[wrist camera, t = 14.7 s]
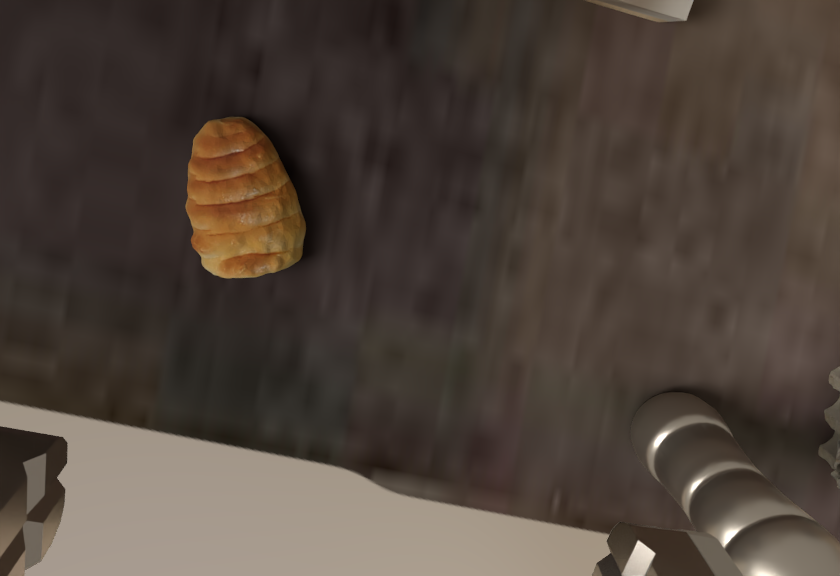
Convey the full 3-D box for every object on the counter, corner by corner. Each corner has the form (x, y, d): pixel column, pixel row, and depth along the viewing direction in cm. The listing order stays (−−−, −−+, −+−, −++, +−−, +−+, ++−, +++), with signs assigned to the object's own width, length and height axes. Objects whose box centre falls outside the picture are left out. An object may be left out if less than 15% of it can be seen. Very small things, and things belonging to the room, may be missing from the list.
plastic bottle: (656, 366, 45) (856, 592, 27) (724, 404, 47) (957, 642, 28) (603, 432, 47) (756, 688, 29) (670, 467, 49) (856, 729, 30)
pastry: (171, 122, 37) (151, 131, 33) (286, 108, 37) (278, 115, 34) (209, 271, 40) (195, 293, 37) (314, 257, 41) (309, 277, 37)
